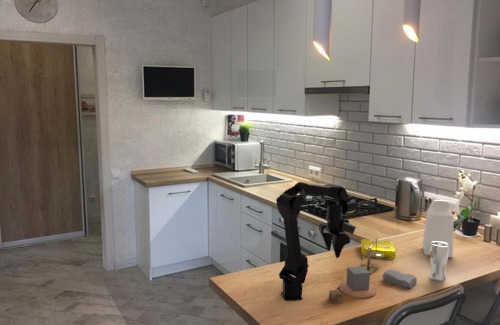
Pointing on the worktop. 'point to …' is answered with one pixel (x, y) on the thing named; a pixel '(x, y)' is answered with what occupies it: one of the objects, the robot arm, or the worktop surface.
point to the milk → (438, 226)
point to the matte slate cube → (358, 278)
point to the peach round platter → (357, 294)
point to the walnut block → (335, 296)
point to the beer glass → (438, 260)
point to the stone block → (399, 278)
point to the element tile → (379, 247)
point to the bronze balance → (371, 254)
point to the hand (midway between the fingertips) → (333, 253)
